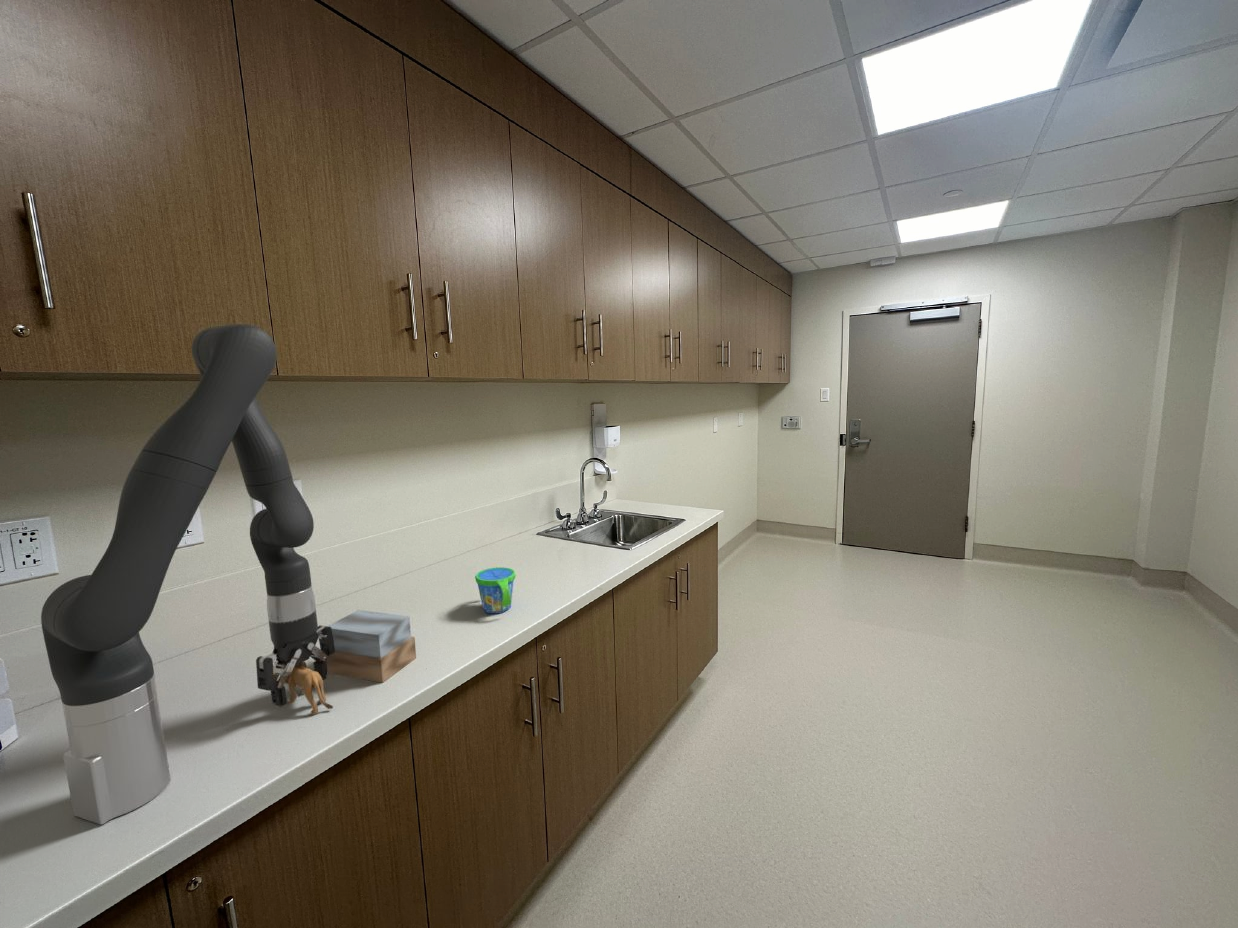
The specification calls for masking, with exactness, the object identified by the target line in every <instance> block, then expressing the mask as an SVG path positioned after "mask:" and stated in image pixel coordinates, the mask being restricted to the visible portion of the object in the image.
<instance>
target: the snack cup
mask: <svg viewBox="0 0 1238 928" xmlns="http://www.w3.org/2000/svg"><path fill="white" fill-rule="evenodd" d="M516 576H517V574H516V571H515V569H512V568H511V567H510V568H509V567H505V566H503V567H501V566H499V567H497V566H496V567H490V568H486V569H482V570H480V571H478V572H477V573H476V574H475V576H474V578H475V582H476V584H477V587H478V592H479V597H480V601H481V602H480V603H481V606H482V609H483V611H485V612H486V613H488V614H500V613H504V612H506V611H508V610H509V609H510V608H512V600H513V592H514V582H515V579H516Z"/></svg>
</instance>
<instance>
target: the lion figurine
mask: <svg viewBox="0 0 1238 928" xmlns="http://www.w3.org/2000/svg"><path fill="white" fill-rule="evenodd" d="M275 662H276V660H275V661H274V663H275ZM285 668H286V666H284V665H283V664H282V666H281V669H285ZM284 684H287V685H288V690H289V692H290V694H291V697H290V698H289V699H288V703H294V702H295V701H297V700H298V698H299V697H298V693H297V691H296V689H297V687H298V688H300V689H301V693H300V694H301V695H304V696H305V698H306V700H307V702H308V703H309V704H310V706H311V708H312V710H311V711H310V715H311V716H313V715H316V714H318V713H319V708H318V703H317V702H316V701H315V700H314V699H315V698H314V695H313V694H314V689H315V691H316V694H317V697H318V699H319V700H318V702H320V703H321V704H322V705H323V707H325V708H326V709H328V710H331V709H334V706H333V705H332V704H330V703H328V702H326V701H327V697H326V695H325V694H324V693H325V692H324V680H322V677H321V676H320V674H319V673H318V672H316V671H314V670H312V669H310V668H309V667H308V666H307V663H306V661H303V662H301V663H300V664H299V665H297V666H296V667H294V668H293V670H292V672H291V674H290V675H288V676H287V679H286V681H285V683H284Z"/></svg>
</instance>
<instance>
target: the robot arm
mask: <svg viewBox="0 0 1238 928" xmlns="http://www.w3.org/2000/svg"><path fill="white" fill-rule="evenodd" d="M277 353H278V352H277V347H276V344H275V342H274V340H273V338H272V337H271V336H270V335H269V334H268V333H267V332H266V331H265V330H264V329H262V328H260V327H258V326H255V325H251V324H240V323H239V324H237V323H236V324H235V323H233V324H225V325H224V324H223V325H219V326H211V327H207V328H205V329H203V330H200V331H199V332H198V333H197V334H196V336H195V337H193V340H192V344H191V355H192V358H193V361H194V363H195V365H196V368H197V369H198V371H199V374H200V376H201V378H200V380H199V382H198V384H197V386H196V388H195V389H194V391H193V393H191V395H190V396H189V397H188V399H187V400H186V401H185V402H183V404H182V405H181V406H179V408H178V409H176V410H175V411H174V413H172V415H170V416H169V417H168V418H167V419H166V420H165V421H164V422H163V423H162V424H161V425H160V426H159V427H158V428H157V429H156V430H155V432H153V434H152V435H151V436H150V437H149V439H148V440H147V441H146V443H145V444H144V446H143V447H142V449H141V450H140V452H139V454H138V455H137V458H136V459H135V461H134V463H133V465H132V466H131V468H130V470H129V472H128V474H127V477H126V478H125V482H124V483H123V486H122V488H121V489H122V490H121V493H120V496H119V497H120V498H119V503H118V506H117V513H116V520H115V525H114V530H113V533H112V537H111V539H110V542H109V543H108V546H107V548H106V550H105V552H104V553H103V555H102V557H101V558H100V559H99V562H98V564H96V567H95V568H94V570H93V572H92V573H91V574H87V575H83V576H78V577H75V578H73V579H70V580H67V581H66V582H64V583H63V584H61V585H59V586H58V587H57V588H56V589H54V590H53V591H52V592H51V593H50V595H49V596H48V597H47V598H46V600H45V602H43V603H44V604H43V606H42V609H41V615H40V620H41V621H40V623H41V629H42V634H43V640H44V644H45V649H46V653H47V658H48V663H49V667H50V672H51V675H52V677H53V680H54V682H55V684H56V686H57V688H58V691H59V695H60V701H61V702H62V704H61V705H62V709H63V715H64V720H65V727H66V731H67V732H66V733H67V738H68V744H69V749H70V750H68V751H65V753H63V755H62V756H63V763H64V767H65V768H64V769H65V774H66V779H67V784H68V790H69V796H70V801H71V806H72V807H71V808H72V811H73V816H74V817H76V818H81V819H84V820H86V821H89V822H92V823H95V824H97V825H104V824H106V823H107V822H108V821H110V820H112V819H114V818H117V817H119V816H123V815H125V814H128V813H130V812H132V811H134V810H136V809H138V808H140V807H142V806H143V805H145V804H147V803H148V802H150V801H152V800H153V799H154V798H156V797H157V796H159V795H160V794H161V792H163V791H164V790H165V789H166V788H167V786H168V785H169V784H170V780H171V773H170V764H169V761H168V753H167V748H166V741H165V735H164V729H163V723H162V714H161V710H160V708H161V707H160V703H159V696H158V691H157V690H158V689H157V683H156V682H157V681H156V676H155V671H154V670H155V668H154V664H153V659H152V657H151V655H150V654H149V652H148V650H147V648H146V647H145V645H144V644H143V641H142V638H141V636H140V631H141V630H142V629H143V628H144V627H145V626H146V624H147V623H148V622H149V619H150V618H151V615H152V613H153V611H154V608H155V605H156V603H157V600H158V597H159V595H160V591H161V590H162V589H161V588H162V586H163V584H164V580H165V577H166V575H167V572H168V569H169V567H170V564H171V562H172V560H173V557H174V554H175V552H176V550H177V548H178V546H179V545H180V543H181V541H182V540H183V537H184V536H185V534H186V532H187V530H188V528H189V526H190V525H191V522H192V520H193V518H194V517H195V515H196V512H197V511H198V508H199V507H200V505H201V503H202V502H203V500H204V498H205V496H206V494H207V492H208V490H209V488H210V486H211V484H212V482H213V480H214V478H215V476H216V475H217V474H216V473H217V472H218V470H219V468H220V466H221V463H222V460H223V458H224V457H225V455H226V453H227V450H228V449H229V446H230V445H232V446H233V449H234V452H235V455H236V458H237V462H238V465H239V468H240V471H241V476H242V478H243V482H244V485H245V489H246V491H247V493H248V496H249V497H250V498H251V499H253V500H254V501H257V502H259V503H260V504H262V505H263V506H264V508H263V509H262V510H261V509H260V510H259V511H258V512H257V513H256V514H255V515H254V516H253V517H252V519H251V521H250V522H251V523H250V524H249V525H250V526H249V538H250V542H251V545H252V549H253V550H254V552H255V554H256V557H257V559H258V561H259V563H260V566H261V568H262V570H263V573H264V580H265V588H266V610H267V619H268V627H269V634H270V641H271V642H272V644H273V651H272V653H270V654H268V655H266V656H261V655H259V656H258V657H257V658H256V660H255V664H256V678H257V679H256V681H257V682H256V683H257V688H258V689H259V690H264V691H269V692H270V695H271V703H272V705H275V706H277V707H278V706H279V707H284V706H285V705H287V704H288V700H287V690H286V685H285V684H286V683H285V681H286V679H287V676H288V675H290V674H291V672H292V670H293V668H294V667H296V666H297V665H299V664H300V663H301V662H303V661H305V662H306V661H309V660H310V658H311V659H312V660H314V661H313V671H316V672H318V673H319V674H320V676H321V677H322V680H323V681H324V680H326V679H327V676H328V673H327V663H326V661H327V659H328V656H329V655H330V654H333V653H334V652H335V647H334V641H333V635H332V629H331V627H328V626H329V625H321V624H320V625H318V617H317V607H316V599H315V598H316V597H315V593H314V591H313V586H312V577H311V576H312V575H311V569H310V568H311V567H310V564H309V561H308V559H307V558H306V557H305V556H302V555H300V554H299V553H298V552H296V551H295V548H299V547H301V546H304V545H305V544H306V543H307V542H308V541H310V539H311V538H312V536H313V533H314V527H315V526H314V525H315V524H314V518H313V515H312V512H311V510H310V509H309V506H308V504H307V502H306V501H305V499H304V497H303V496H302V494H301V492H300V490H299V489H298V487H297V486H296V484H295V483H294V480H293V474H292V471H291V467H290V464H289V460H288V457H287V454H286V450H285V448H284V445H283V444H282V442H281V439H280V438H279V437H278V435H277V433H276V432H275V430H274V429H273V427H272V426H271V423H270V422H269V421H268V419H267V418H266V415H265V414H264V412H263V410H262V407H261V406H260V403H259V401H258V399H257V395H259V392H260V391H261V389H262V388H263V386H264V385H265V384H266V382H267V380H268V379H269V377H270V376H271V375H272V373H273V371H274V370H275V367H276V363H277V359H278V354H277ZM231 443H232V444H231ZM317 642H318V643H319V647H318V646H317ZM275 661H276V662H275ZM282 664H283V665H284V666H286V668H285V669H281V666H282Z"/></svg>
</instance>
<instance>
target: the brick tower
mask: <svg viewBox="0 0 1238 928" xmlns="http://www.w3.org/2000/svg"><path fill="white" fill-rule="evenodd" d="M327 626H328V627H331V629H332V635H333V641H334V647H335V652H334V653H333V654H330V655H329V656H328V659H327V661H326V663H327V674H332V675H335V676H336V675H337V676H342V677H346V678H347V677H349V678H355V679H359V680H366V681H370V682H371V681H372V682H378V683H382V684H383V683H385V682H386V681H387V680H389V679H390V678H391V677H393V676H394V675H395V674H397V673H398V672H399V671H400V670H402V669H404V668H405V667H407V665H409V664H410V663H412V662H413V661H415V660H416V659H417V650H416V649H417V648H416V641H415V640H416V638H415V636H412V633H411V632H412V631H411V620H410V615H408V616H407V615H402V614H393V613H386V612H378V611H368V610H363V609H362V610H361V609H358V610H356V611H354V612H352V613H349V614H347V615H346V616H344V617H342V618H339V620H337V621H335V622H332V623H331V624H329V625H327Z"/></svg>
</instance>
